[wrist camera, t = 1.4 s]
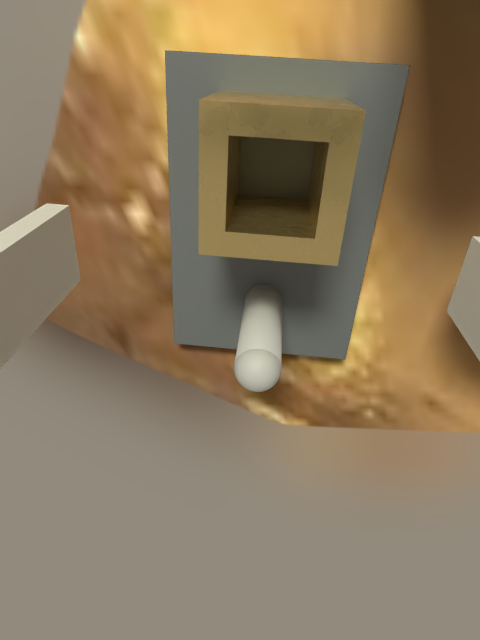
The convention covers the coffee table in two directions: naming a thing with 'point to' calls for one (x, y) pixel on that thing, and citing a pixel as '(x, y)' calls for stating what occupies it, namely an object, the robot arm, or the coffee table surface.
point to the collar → (276, 212)
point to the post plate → (275, 181)
